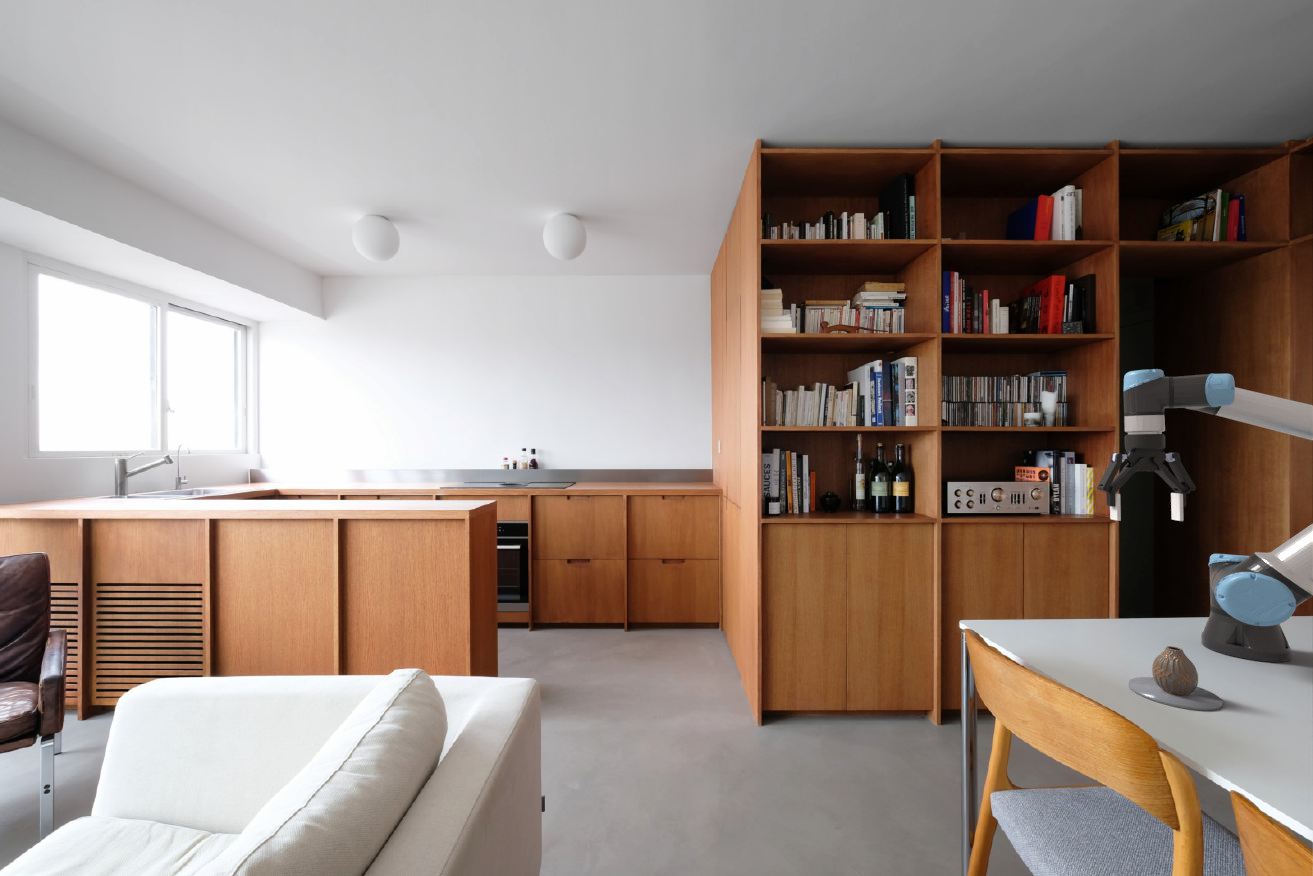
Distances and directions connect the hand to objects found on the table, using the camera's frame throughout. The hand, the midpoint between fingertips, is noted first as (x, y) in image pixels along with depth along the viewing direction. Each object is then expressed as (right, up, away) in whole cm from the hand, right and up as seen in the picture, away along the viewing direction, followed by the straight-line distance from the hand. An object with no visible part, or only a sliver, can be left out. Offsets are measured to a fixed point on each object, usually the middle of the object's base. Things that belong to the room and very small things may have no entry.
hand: (1146, 520), depth 140 cm
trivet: (-15, -32, -24) cm, 43 cm away
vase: (-15, -31, -24) cm, 42 cm away
